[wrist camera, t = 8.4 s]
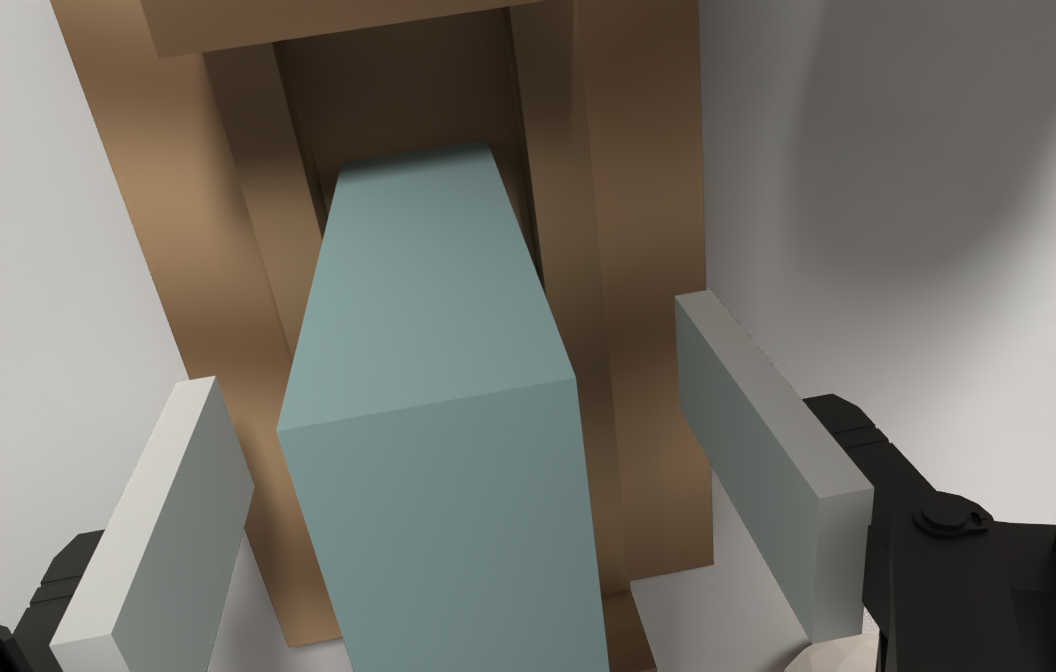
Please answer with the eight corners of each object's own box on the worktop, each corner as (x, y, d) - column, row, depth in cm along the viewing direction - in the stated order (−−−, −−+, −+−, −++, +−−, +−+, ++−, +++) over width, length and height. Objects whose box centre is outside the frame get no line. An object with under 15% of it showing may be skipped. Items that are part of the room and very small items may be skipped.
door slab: (341, 162, 17) (276, 431, 8) (486, 139, 17) (575, 377, 8) (422, 506, 21) (437, 930, 12) (538, 484, 21) (634, 887, 12)
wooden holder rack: (61, -26, 16) (-72, -2, 11) (679, -114, 16) (781, -125, 12) (292, 619, 24) (267, 782, 19) (702, 541, 24) (769, 680, 20)
